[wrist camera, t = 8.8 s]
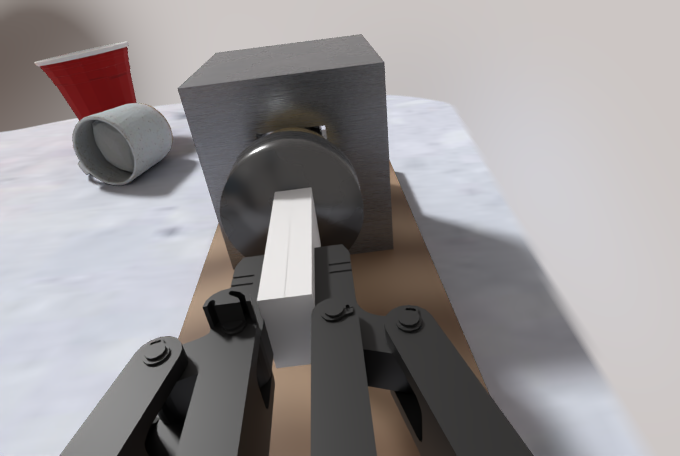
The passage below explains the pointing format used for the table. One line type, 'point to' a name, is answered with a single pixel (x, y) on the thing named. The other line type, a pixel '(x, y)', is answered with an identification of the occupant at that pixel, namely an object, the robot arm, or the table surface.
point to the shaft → (291, 188)
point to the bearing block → (296, 116)
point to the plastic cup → (92, 78)
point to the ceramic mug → (121, 142)
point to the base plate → (373, 297)
